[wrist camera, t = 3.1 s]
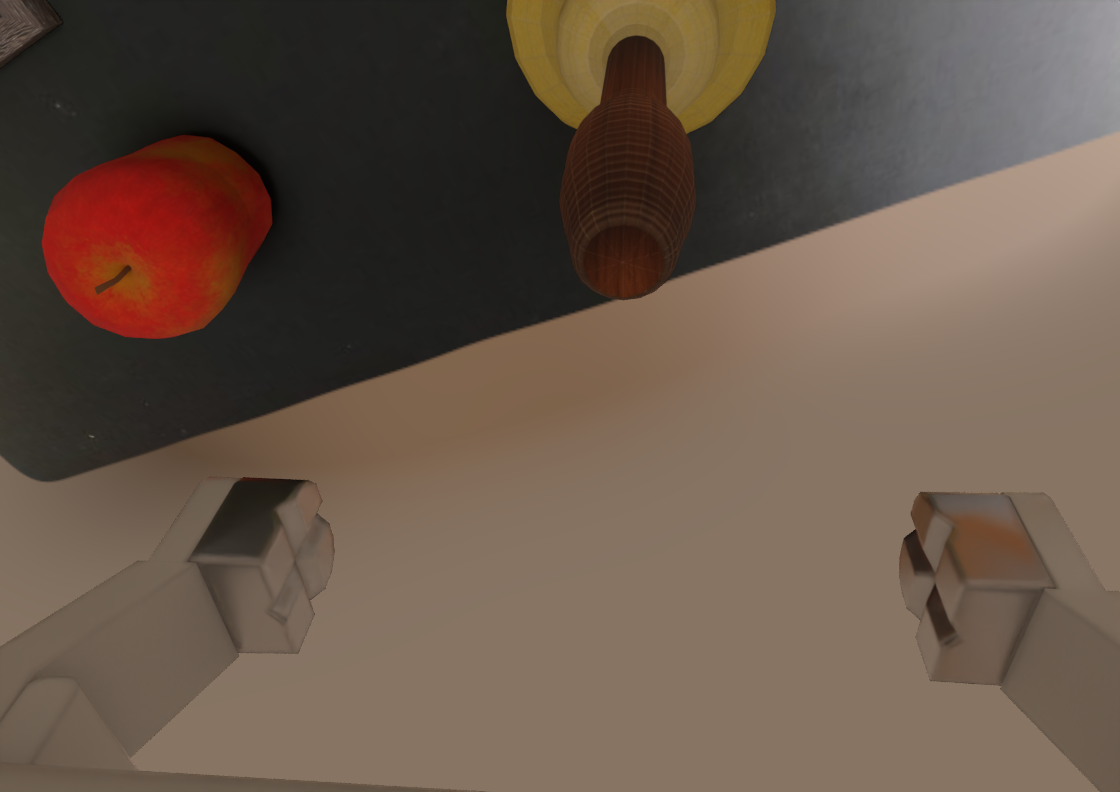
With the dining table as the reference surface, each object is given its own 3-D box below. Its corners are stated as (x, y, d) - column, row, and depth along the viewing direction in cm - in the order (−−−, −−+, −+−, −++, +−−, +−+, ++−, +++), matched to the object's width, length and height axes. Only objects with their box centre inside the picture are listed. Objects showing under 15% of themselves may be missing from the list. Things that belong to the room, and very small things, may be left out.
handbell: (794, -154, 33) (1012, -80, 13) (760, 145, 40) (867, 487, 20) (495, -143, 34) (274, -60, 14) (515, 146, 42) (386, 470, 22)
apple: (228, 284, 48) (125, 403, 39) (108, 172, 45) (-39, 274, 35) (325, 204, 45) (236, 314, 35) (202, 75, 41) (67, 160, 31)
